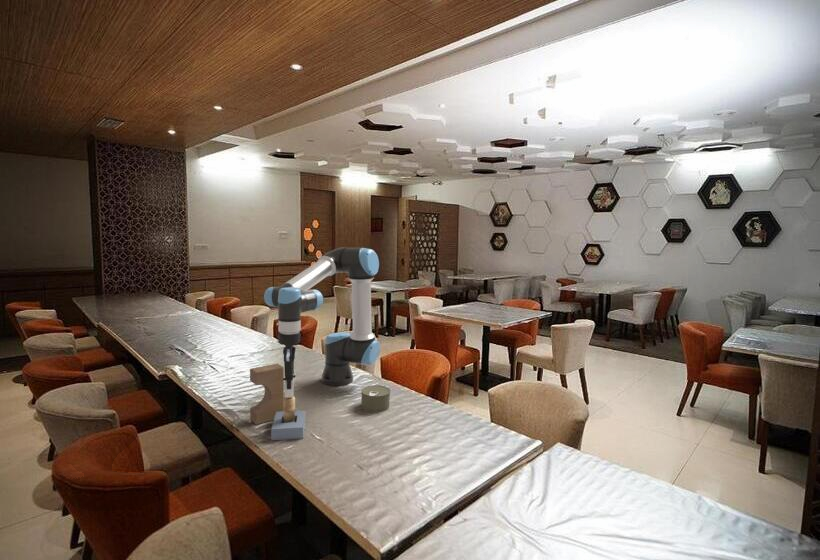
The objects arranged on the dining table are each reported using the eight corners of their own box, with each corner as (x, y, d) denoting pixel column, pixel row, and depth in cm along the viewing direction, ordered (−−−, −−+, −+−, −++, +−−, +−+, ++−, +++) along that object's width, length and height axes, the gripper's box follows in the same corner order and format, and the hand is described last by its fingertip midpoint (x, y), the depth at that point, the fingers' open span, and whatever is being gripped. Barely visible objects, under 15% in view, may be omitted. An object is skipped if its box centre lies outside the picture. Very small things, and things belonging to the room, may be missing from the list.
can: (393, 403, 176) (394, 387, 175) (384, 414, 164) (384, 397, 164) (367, 399, 179) (367, 383, 178) (356, 410, 167) (356, 393, 167)
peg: (295, 427, 151) (295, 395, 150) (294, 432, 147) (294, 399, 146) (283, 427, 150) (283, 395, 149) (282, 432, 146) (282, 400, 145)
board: (305, 420, 156) (305, 410, 156) (303, 438, 143) (303, 427, 142) (276, 421, 154) (276, 411, 154) (271, 440, 141) (271, 429, 140)
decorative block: (255, 425, 151) (254, 372, 149) (249, 419, 155) (249, 368, 153) (284, 417, 158) (284, 366, 156) (278, 412, 163) (278, 363, 160)
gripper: (280, 327, 150) (280, 390, 153) (275, 336, 138) (275, 404, 140) (301, 327, 152) (301, 389, 154) (299, 336, 139) (298, 403, 142)
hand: (289, 396), depth 147 cm, fingers closed
